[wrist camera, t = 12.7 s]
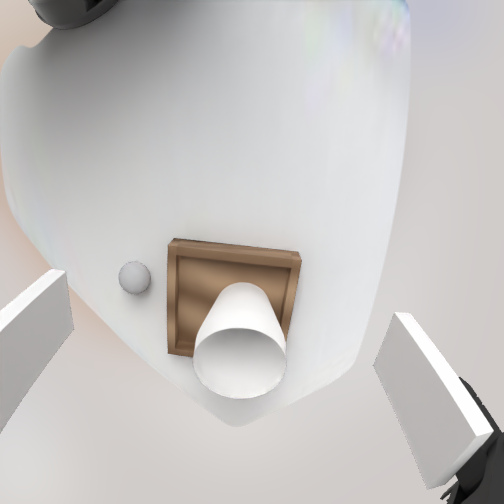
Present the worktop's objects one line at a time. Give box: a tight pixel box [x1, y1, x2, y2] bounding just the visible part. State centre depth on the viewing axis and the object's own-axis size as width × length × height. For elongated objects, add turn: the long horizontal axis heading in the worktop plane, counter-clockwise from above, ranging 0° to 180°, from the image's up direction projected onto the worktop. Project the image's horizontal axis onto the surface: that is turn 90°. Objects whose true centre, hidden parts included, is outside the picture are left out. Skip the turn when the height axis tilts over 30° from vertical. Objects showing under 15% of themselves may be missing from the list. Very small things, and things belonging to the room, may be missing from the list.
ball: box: [119, 262, 150, 294], centre depth 37 cm, size 4×4×4 cm
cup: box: [193, 282, 286, 399], centre depth 33 cm, size 9×9×12 cm
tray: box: [167, 238, 302, 357], centre depth 39 cm, size 15×15×3 cm
